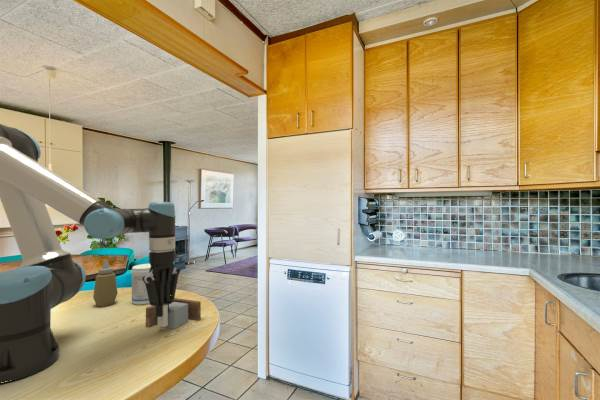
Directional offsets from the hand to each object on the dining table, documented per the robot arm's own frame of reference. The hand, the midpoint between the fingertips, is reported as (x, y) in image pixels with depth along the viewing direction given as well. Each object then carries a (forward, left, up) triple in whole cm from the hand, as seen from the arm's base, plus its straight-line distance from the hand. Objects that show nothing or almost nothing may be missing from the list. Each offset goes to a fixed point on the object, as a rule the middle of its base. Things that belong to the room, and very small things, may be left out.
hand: (162, 325), depth 88 cm
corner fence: (+6, +1, -2) cm, 6 cm away
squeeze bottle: (+11, +41, -2) cm, 43 cm away
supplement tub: (+19, +29, -2) cm, 35 cm away
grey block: (+5, 0, -2) cm, 5 cm away
